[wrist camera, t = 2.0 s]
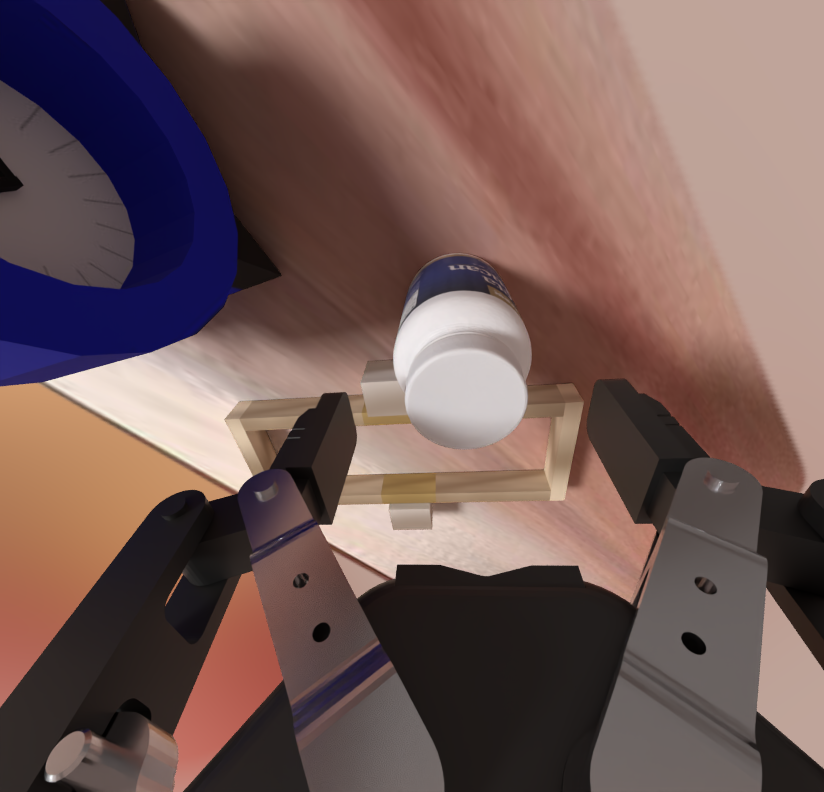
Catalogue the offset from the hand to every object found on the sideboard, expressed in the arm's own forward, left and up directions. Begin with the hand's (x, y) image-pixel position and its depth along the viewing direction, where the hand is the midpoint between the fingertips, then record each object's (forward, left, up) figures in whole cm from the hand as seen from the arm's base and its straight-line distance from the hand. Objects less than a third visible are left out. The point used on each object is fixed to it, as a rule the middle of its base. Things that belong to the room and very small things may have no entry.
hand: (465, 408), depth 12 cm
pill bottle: (0, 0, -10) cm, 10 cm away
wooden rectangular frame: (+10, -4, -9) cm, 14 cm away
